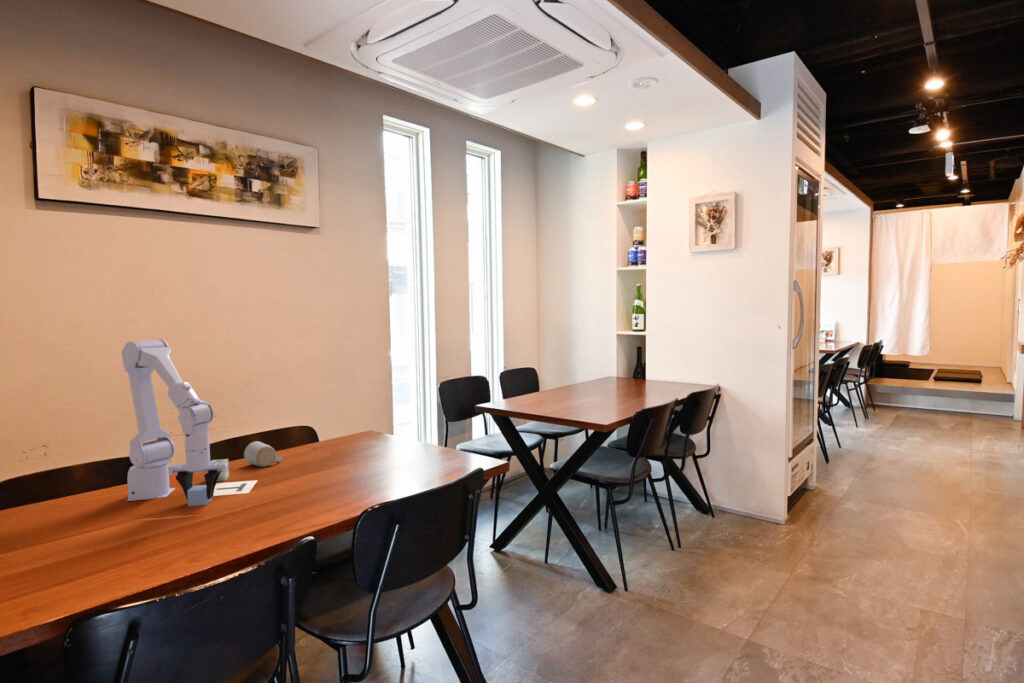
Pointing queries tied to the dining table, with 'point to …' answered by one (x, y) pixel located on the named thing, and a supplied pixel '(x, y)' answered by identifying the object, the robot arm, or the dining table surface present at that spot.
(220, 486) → the letter card
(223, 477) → the green block
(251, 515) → the dining table surface
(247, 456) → the ceramic mug
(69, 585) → the dining table surface
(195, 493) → the blue cube
